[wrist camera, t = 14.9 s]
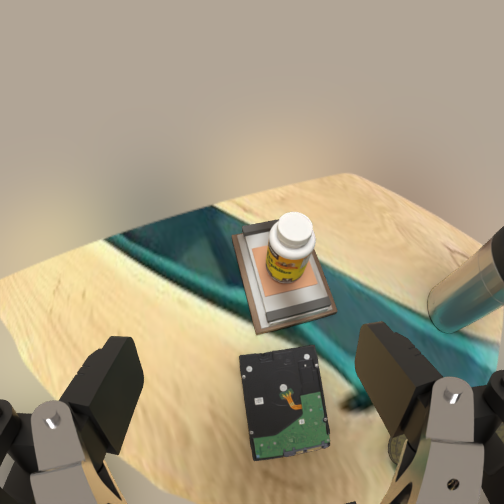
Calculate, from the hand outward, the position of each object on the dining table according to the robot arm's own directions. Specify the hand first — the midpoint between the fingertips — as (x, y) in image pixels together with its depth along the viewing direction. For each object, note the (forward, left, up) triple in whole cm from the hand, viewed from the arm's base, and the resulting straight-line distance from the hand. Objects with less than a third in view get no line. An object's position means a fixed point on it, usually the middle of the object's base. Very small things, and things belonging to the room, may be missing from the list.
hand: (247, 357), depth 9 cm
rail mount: (-9, -15, -29) cm, 33 cm away
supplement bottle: (-9, -14, -26) cm, 31 cm away
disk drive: (-4, +4, -29) cm, 30 cm away
